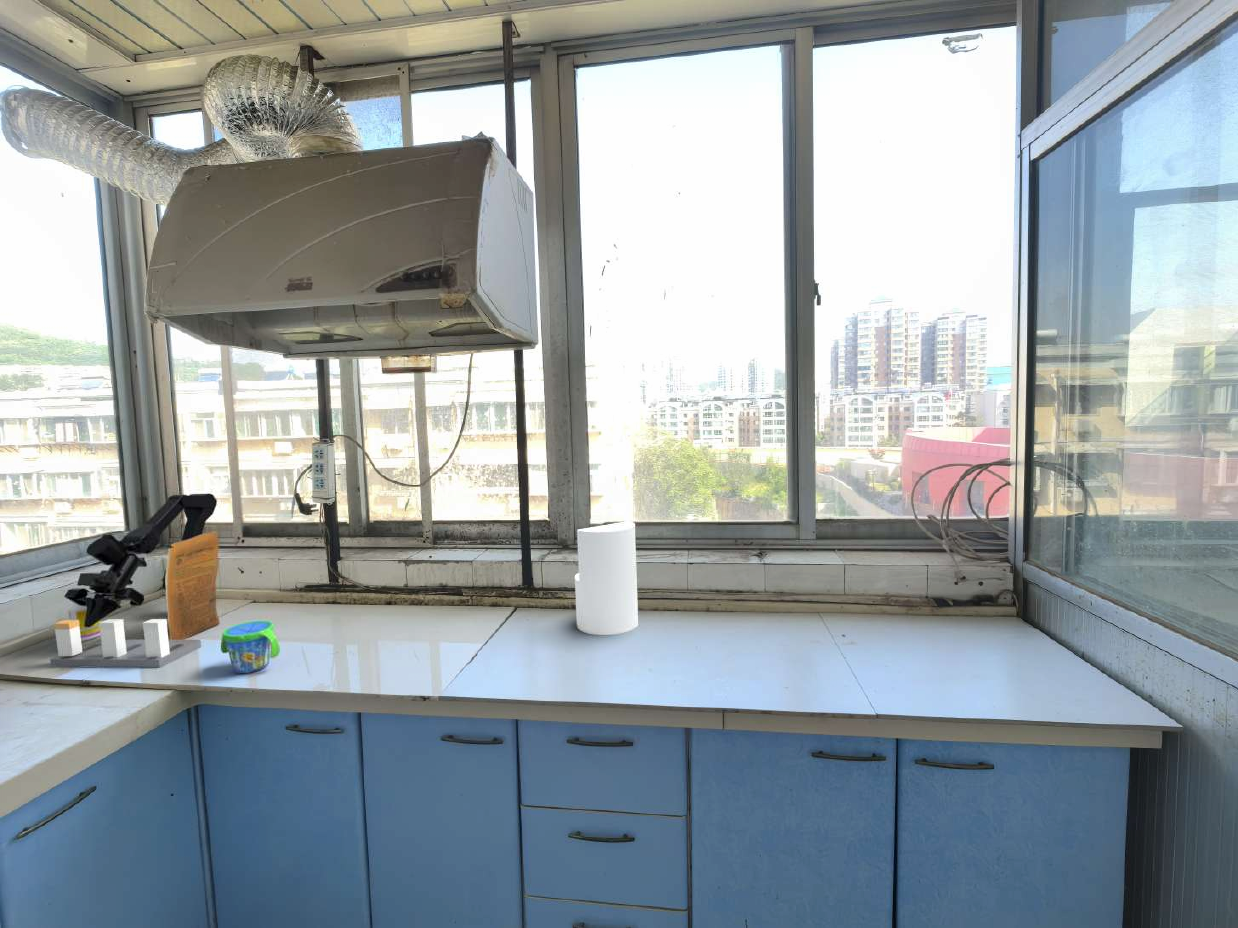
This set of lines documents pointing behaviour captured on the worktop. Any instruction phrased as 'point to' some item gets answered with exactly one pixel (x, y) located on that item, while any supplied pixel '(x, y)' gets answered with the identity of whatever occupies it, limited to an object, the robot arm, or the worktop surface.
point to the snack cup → (250, 645)
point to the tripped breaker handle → (68, 637)
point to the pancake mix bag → (192, 585)
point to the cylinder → (607, 579)
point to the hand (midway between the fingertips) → (86, 626)
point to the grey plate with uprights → (130, 647)
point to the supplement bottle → (79, 614)
